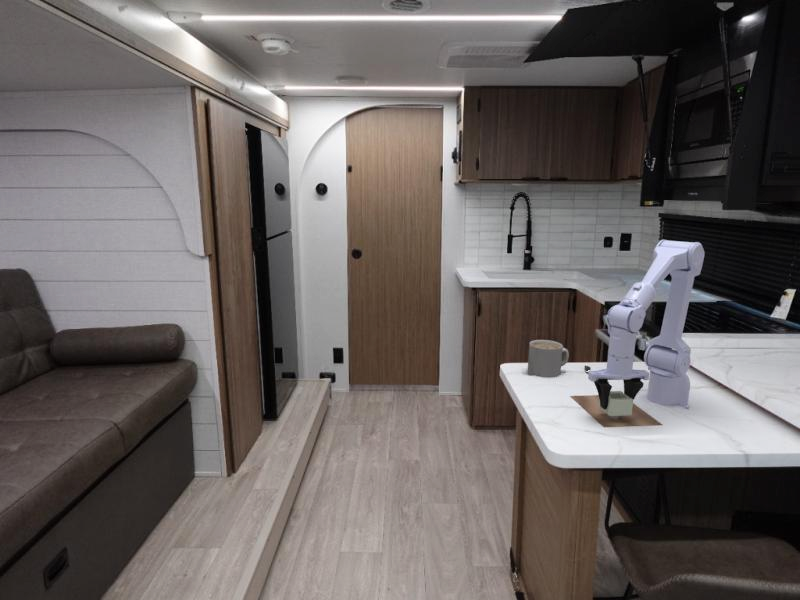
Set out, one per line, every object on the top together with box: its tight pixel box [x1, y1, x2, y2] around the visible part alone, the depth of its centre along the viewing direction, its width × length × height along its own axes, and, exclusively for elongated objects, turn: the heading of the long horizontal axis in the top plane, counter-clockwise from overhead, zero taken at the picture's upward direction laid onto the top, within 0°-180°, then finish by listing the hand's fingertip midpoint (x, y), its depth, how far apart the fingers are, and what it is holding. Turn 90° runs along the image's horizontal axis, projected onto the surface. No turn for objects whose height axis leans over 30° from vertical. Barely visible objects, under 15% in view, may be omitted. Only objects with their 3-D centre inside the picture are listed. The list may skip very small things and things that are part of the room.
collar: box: [598, 390, 634, 416], centre depth 123 cm, size 6×6×4 cm
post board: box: [569, 394, 663, 428], centre depth 129 cm, size 15×19×6 cm
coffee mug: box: [526, 339, 570, 379], centre depth 156 cm, size 13×10×10 cm
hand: (615, 407), depth 123 cm, fingers closed on collar, 5 cm apart
